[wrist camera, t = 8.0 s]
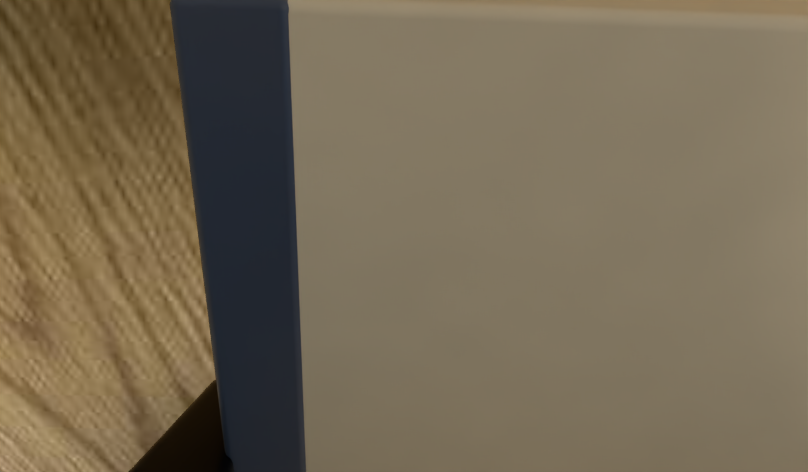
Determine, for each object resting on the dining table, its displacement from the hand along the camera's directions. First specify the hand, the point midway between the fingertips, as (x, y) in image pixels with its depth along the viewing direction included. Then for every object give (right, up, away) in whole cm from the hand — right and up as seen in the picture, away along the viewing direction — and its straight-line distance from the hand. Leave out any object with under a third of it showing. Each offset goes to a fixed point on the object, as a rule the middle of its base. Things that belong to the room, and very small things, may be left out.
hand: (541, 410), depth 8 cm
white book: (0, +1, +1) cm, 1 cm away
